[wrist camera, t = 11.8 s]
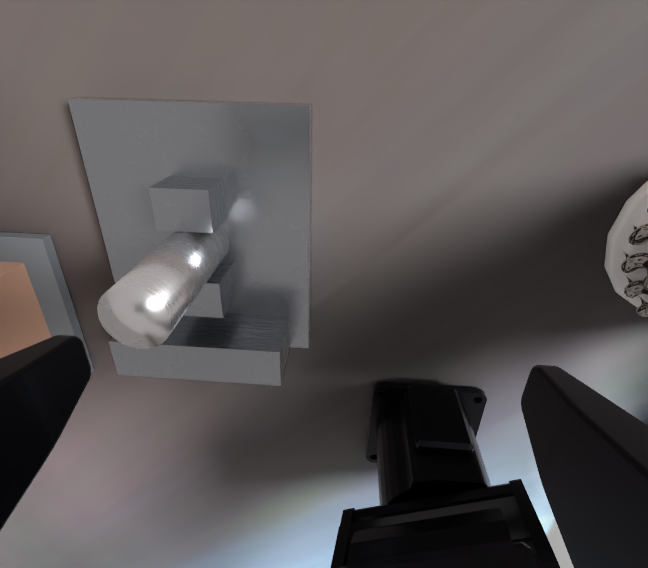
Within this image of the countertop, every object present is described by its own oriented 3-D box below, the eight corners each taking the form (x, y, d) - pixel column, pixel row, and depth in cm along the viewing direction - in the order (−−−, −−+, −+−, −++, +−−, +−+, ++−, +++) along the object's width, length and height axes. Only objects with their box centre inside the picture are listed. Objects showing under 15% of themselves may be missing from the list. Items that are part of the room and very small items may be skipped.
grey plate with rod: (310, 337, 22) (289, 455, 16) (137, 327, 23) (44, 436, 16) (312, 104, 17) (281, 127, 10) (82, 97, 17) (-100, 115, 10)
